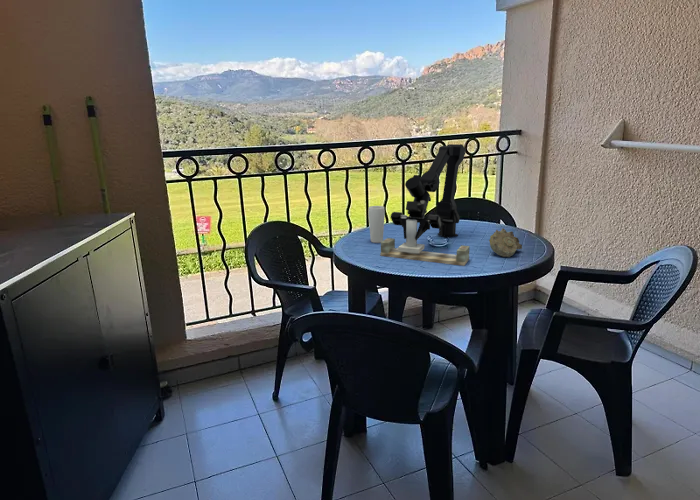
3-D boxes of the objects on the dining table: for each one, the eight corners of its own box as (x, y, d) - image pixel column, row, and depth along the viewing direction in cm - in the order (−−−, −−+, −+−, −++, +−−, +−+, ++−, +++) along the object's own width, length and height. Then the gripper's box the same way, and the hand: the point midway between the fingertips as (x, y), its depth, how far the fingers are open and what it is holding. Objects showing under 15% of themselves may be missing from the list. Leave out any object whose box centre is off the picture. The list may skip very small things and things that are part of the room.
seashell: (485, 259, 164) (486, 234, 160) (493, 246, 176) (495, 222, 172) (516, 264, 159) (518, 238, 155) (523, 249, 171) (525, 225, 167)
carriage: (398, 251, 165) (398, 221, 161) (404, 246, 171) (404, 217, 167) (418, 253, 161) (419, 223, 158) (424, 248, 167) (425, 219, 164)
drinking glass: (383, 244, 183) (383, 208, 179) (367, 243, 185) (367, 208, 180) (385, 239, 190) (385, 205, 185) (370, 239, 191) (369, 205, 187)
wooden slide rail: (380, 255, 168) (380, 242, 166) (388, 250, 175) (388, 236, 173) (464, 265, 154) (465, 250, 152) (469, 259, 161) (469, 245, 159)
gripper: (392, 191, 167) (381, 225, 161) (440, 193, 159) (430, 229, 153) (399, 207, 176) (389, 240, 170) (445, 210, 168) (436, 245, 162)
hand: (410, 239), depth 163 cm, fingers closed on carriage, 4 cm apart
